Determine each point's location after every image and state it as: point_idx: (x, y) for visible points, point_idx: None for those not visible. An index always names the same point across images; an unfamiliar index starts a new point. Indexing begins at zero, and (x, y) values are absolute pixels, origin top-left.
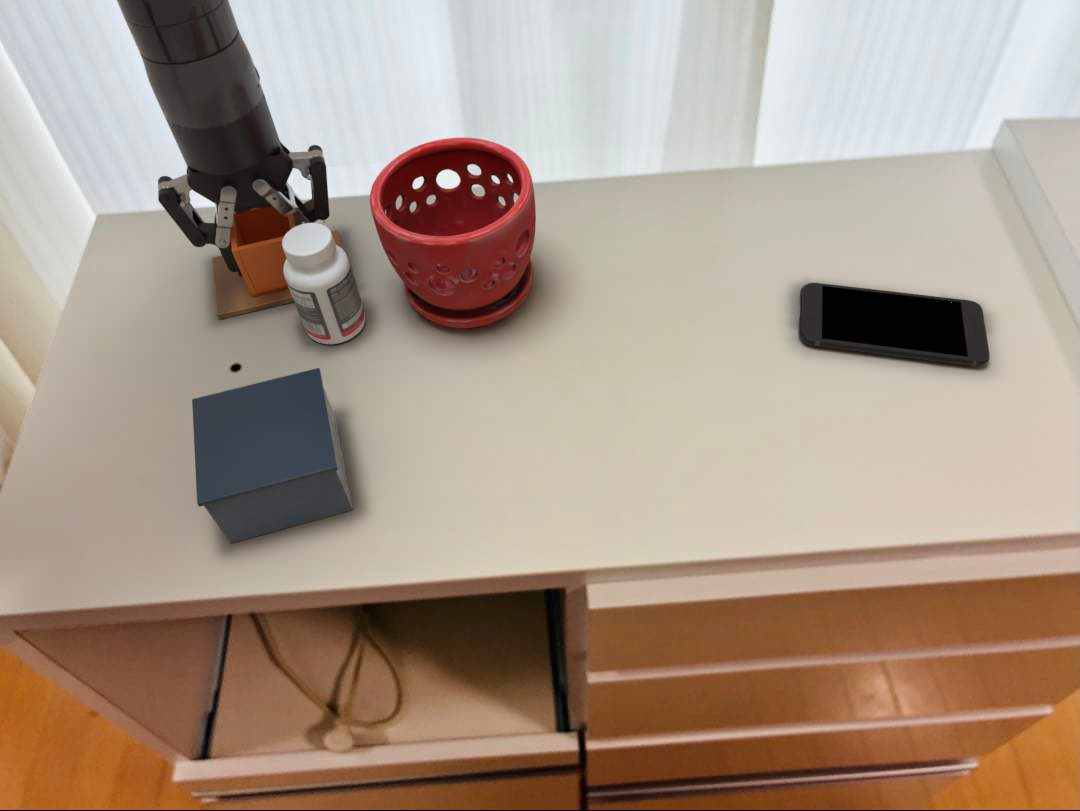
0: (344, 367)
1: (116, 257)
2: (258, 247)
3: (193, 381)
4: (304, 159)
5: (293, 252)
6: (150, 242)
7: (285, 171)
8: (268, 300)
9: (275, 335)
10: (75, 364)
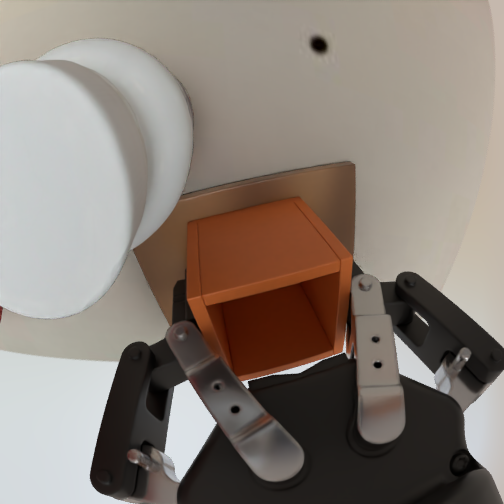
0: (116, 22)
1: (430, 283)
2: (289, 269)
3: (378, 42)
4: (147, 498)
5: (38, 81)
6: None
7: (195, 486)
8: (270, 185)
9: (253, 103)
10: (478, 134)
